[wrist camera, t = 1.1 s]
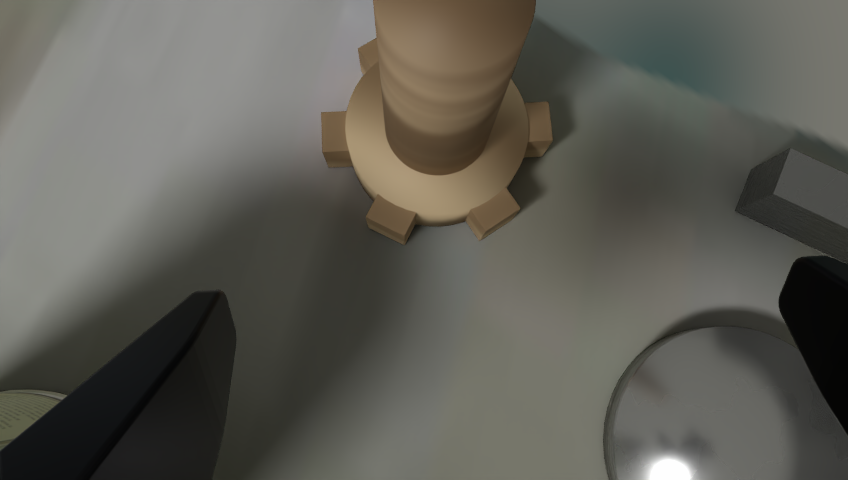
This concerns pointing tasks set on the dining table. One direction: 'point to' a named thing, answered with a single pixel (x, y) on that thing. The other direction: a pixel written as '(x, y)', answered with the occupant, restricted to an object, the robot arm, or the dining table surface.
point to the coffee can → (23, 410)
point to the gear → (439, 115)
